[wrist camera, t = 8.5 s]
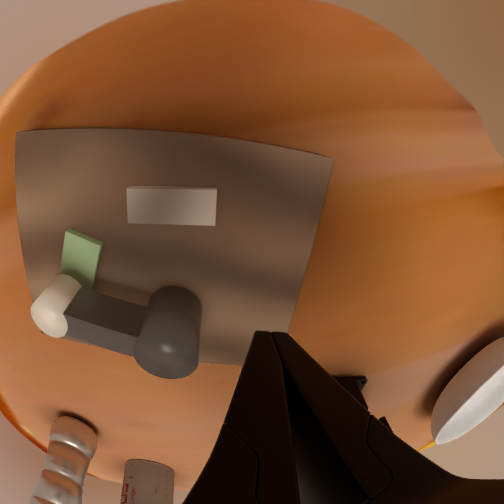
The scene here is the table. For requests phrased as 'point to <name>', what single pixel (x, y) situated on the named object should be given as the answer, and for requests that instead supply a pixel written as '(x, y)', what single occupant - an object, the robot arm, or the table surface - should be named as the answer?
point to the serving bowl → (470, 394)
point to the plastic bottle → (65, 463)
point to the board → (173, 222)
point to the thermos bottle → (147, 483)
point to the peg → (126, 324)
